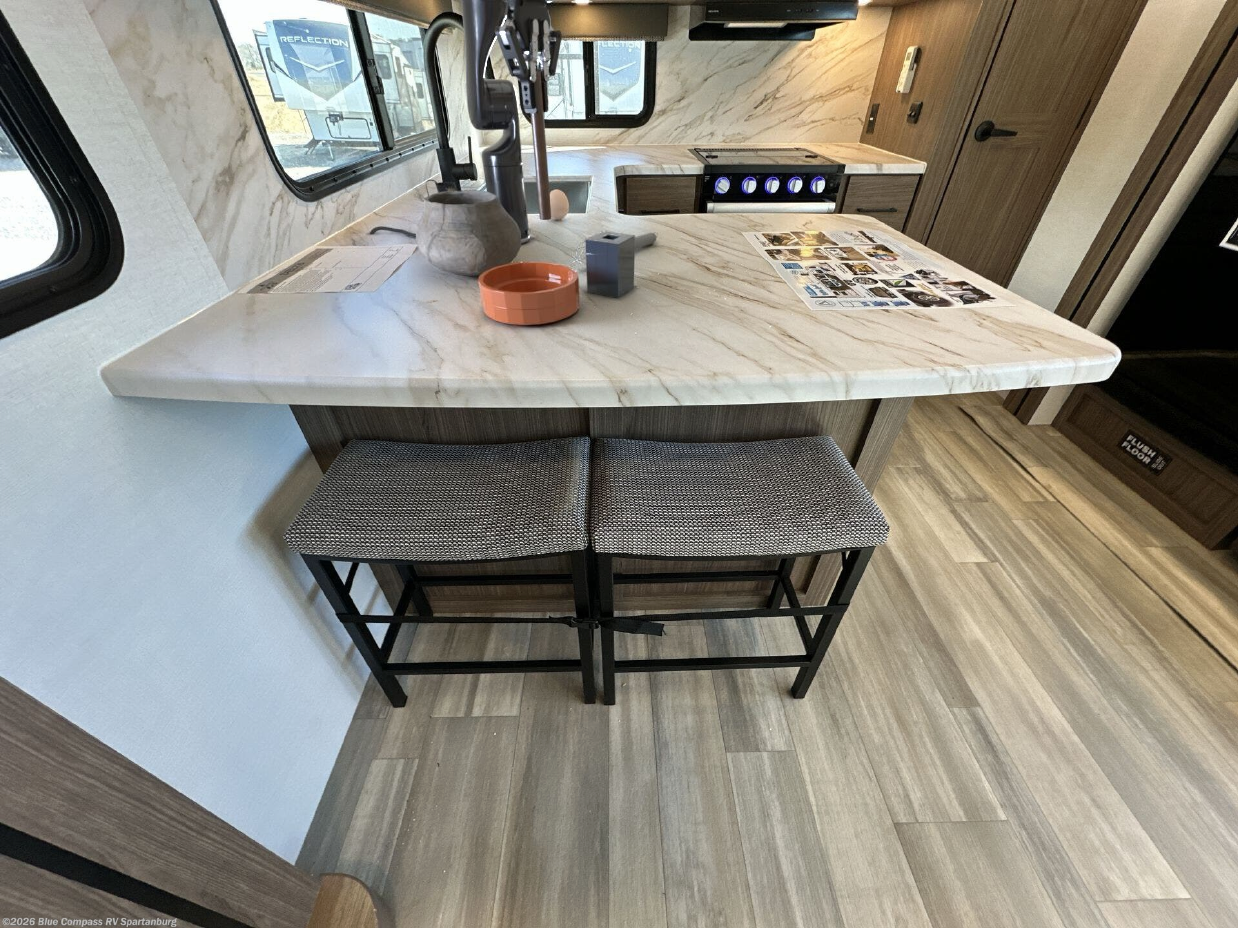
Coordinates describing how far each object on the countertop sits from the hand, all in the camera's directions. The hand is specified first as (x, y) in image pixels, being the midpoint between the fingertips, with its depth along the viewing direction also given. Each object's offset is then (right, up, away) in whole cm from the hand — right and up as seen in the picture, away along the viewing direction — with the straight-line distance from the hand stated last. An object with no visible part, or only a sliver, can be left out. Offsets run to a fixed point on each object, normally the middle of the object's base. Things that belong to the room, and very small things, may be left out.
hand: (536, 112), depth 77 cm
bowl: (-4, -25, +17) cm, 30 cm away
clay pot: (-19, -12, +34) cm, 41 cm away
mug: (-35, +12, +63) cm, 73 cm away
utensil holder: (+11, -19, +25) cm, 33 cm away
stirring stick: (0, -12, +9) cm, 15 cm away
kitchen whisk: (+13, -5, +42) cm, 44 cm away
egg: (-5, +18, +72) cm, 74 cm away
